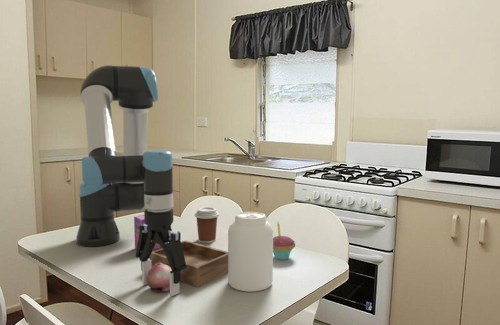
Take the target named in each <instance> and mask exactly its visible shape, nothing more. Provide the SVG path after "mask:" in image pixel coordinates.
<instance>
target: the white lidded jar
mask: <svg viewBox="0 0 500 325" xmlns="http://www.w3.org/2000/svg"><path fill="white" fill-rule="evenodd" d="M227 238H228V239H227V246H228V248H227V252H228V273H227V281H228V284H229V286H230V287H231V288H233V289H235V290H237V291H242V292H250V293H251V292H260V291H264V290H266V289H268V288H270V287H271V285H272V283H273V278H274V276H273V275H274V272H273V270H274V268H273V267H274V253H273V238H274V230H273V226H272V224H271V223H269V221H268V220H267V216H266V214H265V213H264V212H260V211H242V212H239V213H236V215H235V217H234V221H232V223H231V224H230V225H229V227H228V231H227Z"/></svg>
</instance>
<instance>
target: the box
mask: <svg viewBox="0 0 500 325" xmlns="http://www.w3.org/2000/svg"><path fill="white" fill-rule="evenodd" d="M133 221H134V223H133V224H134V225H133V226H134V227H133V228H134V249H135V250H136V249H137V244H138V239H139V234H140V232H139V226H140V225H144V224H145V220H144V214H141V215H135V216H134V217H133ZM167 243H169V242H167ZM167 243H165V244H167ZM156 249H157V250H159V249H162V248H161V246H160V245H159V244H157V243H156V244H155V246H154V249H153V251H155V250H156ZM140 252H141V251H140Z"/></svg>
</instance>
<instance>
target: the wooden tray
mask: <svg viewBox="0 0 500 325" xmlns="http://www.w3.org/2000/svg"><path fill="white" fill-rule="evenodd" d="M181 245H182V249H183V253H184V258H185V262H186V266H187V268H186V269H184V270H181V272H180V274H181V278H180V279H181V281H180V282H182V283H186V284H187V285H191V286H194V287H196V288H199V287H201V286H202V285H205V284H207V283H208V282H209V283H210V282H211V281H213V280H215V279H218V278H220V277H221V276H224V275H226V274H228V251H226V250H223V249H219V248H215V247H211V246H207V245H205V244H200V243H196V242H192V241H190V240H183V241H182V240H181ZM150 257H151V258H149V259H150V260H151V263H152V267H153V266H154V265H155V264H157V263H162V264H165V265H168V266H169V267H170V265H169V262H168V260H167V257H166V255H165V252H164V250H163V249H162V248H158V249H157V250H156V249H155V250H153V251H152V253H151V255H150ZM175 267H176V265H175ZM170 268H171V267H170Z"/></svg>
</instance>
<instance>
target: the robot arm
mask: <svg viewBox="0 0 500 325" xmlns="http://www.w3.org/2000/svg"><path fill="white" fill-rule="evenodd" d="M158 97H159V90H158V83H157V78H156V74H155V71H154V70H153V69H152V68H150V67H146V66H145V67H144V66H130V65H103V66H99V67H97V68H95V69H93V70H92V71H91V72H90V73H88V75H87V76H86V77H85V79H84V80H83V82H82V84H81V86H80V101H81V103H82V104H83V105H84V113H85V114H84V115H85V127H86V128H85V129H86V141H87V143H86V144H87V155H88V156H87V157H86V156H85V157H82V158H81V175H82V177H81V178H82V182H81V183H80V185H79V194H78V197H79V210H80V211H79V213H80V223H79V227H78V230H77V234H76V236H75V237H76V241H75V242H76V244H77V245H79V246H81V247H88V248H89V247H102V246H108V245H112V244H114V243H116V242H118V241H119V240H120V238H121V237H120V231H119V227H118V225H117V223H116V221H115V214H114V213H115V212H127V211H141V210H144V212H143V215H144V220H145V224H144V225H140V226H139V232H140V234H139V239H138V244H137V249H135V253H134V255H135V257H136V258H137V259H139V261H140V265H141V266H140V267H141V269H140V270H141V273H142V274H141V278H142V280H141V281H142V282H141V283H142V286H147V285H148V284H147V273H148V271H149V270H150V269H151V268H152V263H151V260H150V258H151V257H150V255H151V253H152V252H153V251H154V250H155V249H154V246H155V244H156V243H157V244H159V245H160V246H161V248H160V249H163V250H164V252H165V255H166V257H167V260H168V262H169V265H170V267H171V270H172V271H170V272H169V274H170V292H169V296H170V297H174V296H175V295H178V294H180V290H181V289H180V283H181V282H182V281H181V279H180V278H181V274H180V272H181V270H184V269H186V268H187V266H186V262H185V258H184V253H183V249H182V245H181V242H182V240H181V232H180V231H173V230H172V224H173V223H174V209H173V208H174V189H173V188H174V184H173V183H174V182H173V179H174V178H173V169H174V168H173V166H174V162H173V154H172V152H171V151H170V150H163V149H161V150H160V149H157V150H156V149H155V150H149V149H148V146H149V145H148V142H149V141H148V138H149V111H150V110H151V109H153V107H154V103H155V102H157V101H158V100H159V98H158ZM115 101H116V102H118V107H119V108H120V109H121V110H122V115H123V116H122V117H123V118H122V120H123V122H122V128H123V130H122V132H123V133H122V135H123V136H122V142H123V144H122V146H123V147H122V151H123V152H122V154H123V155H118V154H117V147H116V140H115V139H116V138H115V137H116V136H115V131H114V122H113V116H112V115H113V114H112V107H111V104H112V102H115ZM167 242H168V243H167ZM165 243H167V244H165ZM153 249H154V250H153ZM140 251H141V252H140ZM175 265H176V267H175Z"/></svg>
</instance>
